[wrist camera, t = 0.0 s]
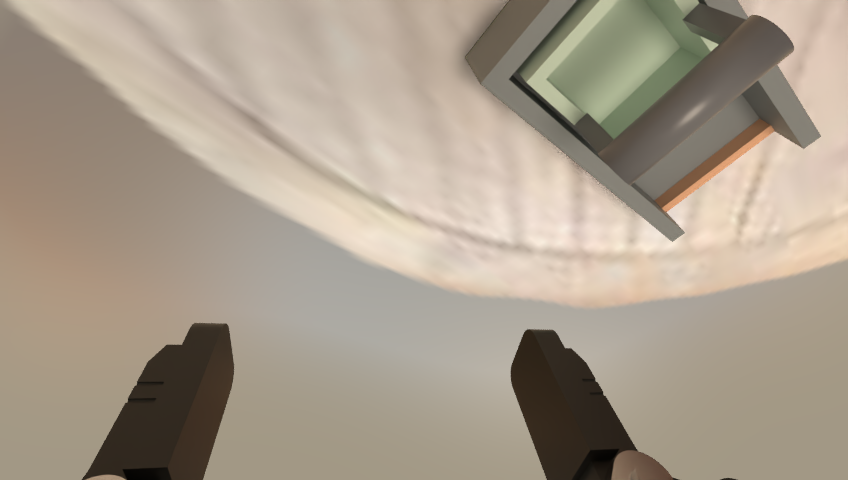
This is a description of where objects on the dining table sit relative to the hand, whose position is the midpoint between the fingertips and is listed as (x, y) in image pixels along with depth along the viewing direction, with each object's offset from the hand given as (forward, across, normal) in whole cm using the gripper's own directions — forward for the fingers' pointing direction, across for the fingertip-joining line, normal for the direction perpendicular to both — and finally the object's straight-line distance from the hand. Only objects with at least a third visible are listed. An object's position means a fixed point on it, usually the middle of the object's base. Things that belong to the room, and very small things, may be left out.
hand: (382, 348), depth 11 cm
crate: (+20, -15, -7) cm, 26 cm away
